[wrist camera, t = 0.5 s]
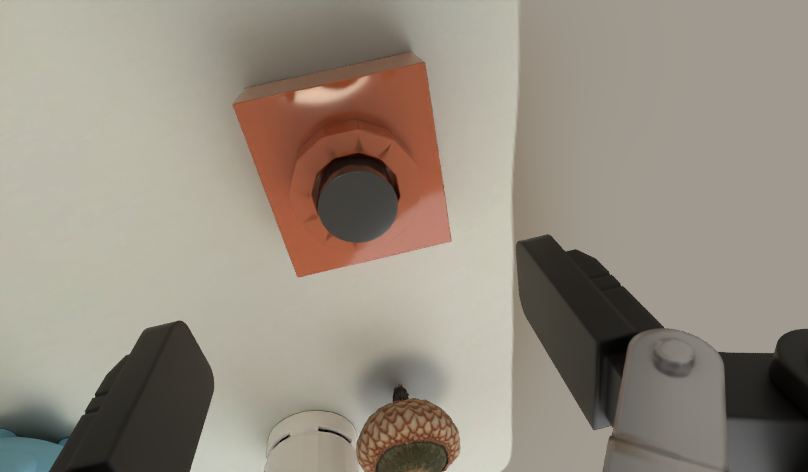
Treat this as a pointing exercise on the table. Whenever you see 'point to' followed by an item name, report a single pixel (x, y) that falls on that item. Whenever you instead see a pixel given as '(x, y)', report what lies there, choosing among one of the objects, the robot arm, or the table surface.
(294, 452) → the bottle
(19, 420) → the table surface
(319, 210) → the grey push button
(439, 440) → the acorn
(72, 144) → the table surface
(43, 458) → the teapot
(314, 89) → the push button base
